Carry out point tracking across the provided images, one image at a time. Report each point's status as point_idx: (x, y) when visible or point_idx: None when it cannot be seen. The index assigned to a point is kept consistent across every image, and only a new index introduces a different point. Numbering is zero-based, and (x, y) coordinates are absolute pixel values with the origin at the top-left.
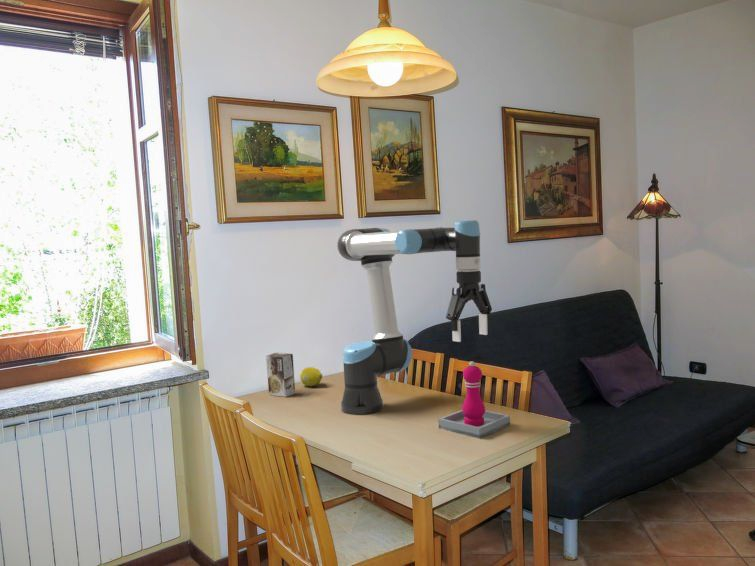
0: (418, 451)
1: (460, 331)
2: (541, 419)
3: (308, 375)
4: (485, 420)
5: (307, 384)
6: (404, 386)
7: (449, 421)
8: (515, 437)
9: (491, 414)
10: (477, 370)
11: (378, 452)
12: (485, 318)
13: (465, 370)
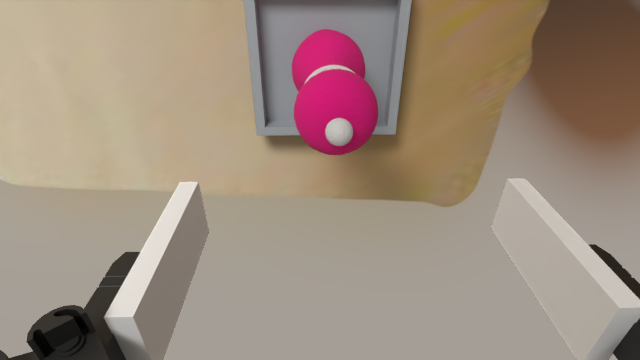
0: (79, 66)
1: (187, 285)
2: (468, 157)
3: None
4: (366, 69)
5: None
6: None
7: (246, 28)
8: (319, 178)
9: (391, 78)
10: (330, 153)
11: None
12: (560, 328)
13: (302, 110)
